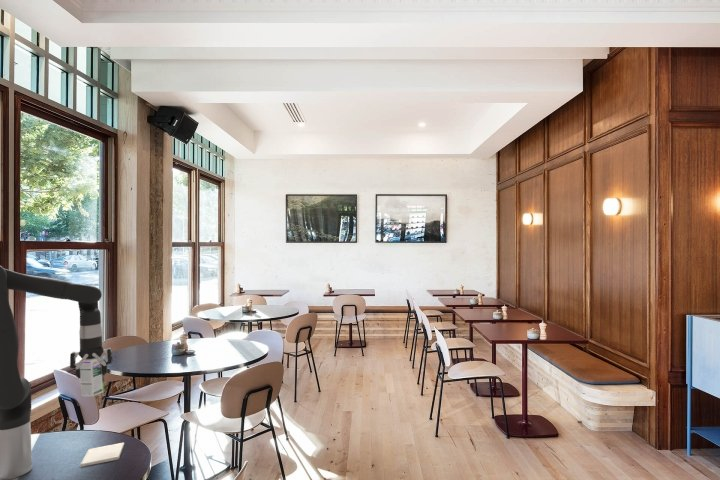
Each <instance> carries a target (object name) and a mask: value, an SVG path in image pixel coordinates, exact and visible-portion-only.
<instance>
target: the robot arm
mask: <svg viewBox="0 0 720 480" xmlns="http://www.w3.org/2000/svg"><path fill="white" fill-rule="evenodd" d="M8 290H11V291H12V290H13V291H19V292H24V293H29V294H33V295H37V296H38V295H39V296H43V297H48V298H53V299H58V300H69V301H73V302H77V305H78V310H79V331H78V333H79V334H78V335H79V351H72V352H70V356H69V357H70V359H69V360H70V361H69V368H70V369H74V370H75V373H76V374H75V376H76V378H77V379H78V380H79V379H80V366H81V365H82V364H83V361H84V360H86V359H92V358H96V359H97V360H98V361H99V362H100V363H101V364H102V365H103V366H102V370H103V375H104V376H106V374H107V373H108V365H111V364H112V362H113V361H114V360H113V349H112V347H108V348H103V327H102V319H101V317H102V316H101V315H102V314H101V311H100V309H99V301H100V300H101V298H102V291H101V289H100V288H98V287H96V286H93V285H87V284H80V283H75V282H72V281H67V280H63V279H59V278H53V277H52V278H51V277H44V276H37V275H30V274H26V273H25V274H24V273H20V272H16V271H13V270H10V269H7V268H4V267H3V266H2V265H0V480H11V479H15V478H19V477H21V476H23V475H25V474H27V473H29V472H30V471H31V470H32V469H33V458H32V454H33V453H32V452H33V451H32V435H31V434H32V428H31V412H32V386H31V383H30V382H29V380H28V379H27V378H24V377H22V376H20V375H21V374H20V371H19V366H18V365H19V364H18V362H19V361H18V360H19V347H20V346H19V345H20V343H19V335H18V329H17V323H16V321H15V318H14V314H13V311H12V308H11V305H10V302H9V296H8ZM103 353H105V355H107V360H106V359H105V357H104V356H103ZM78 356H79V357H80V358H81V359H80V360H81V361H80V360H79V362H78V363H77V364H76V359H77V358H78ZM100 356H102V357H103V358H102V359H101V358H100Z"/></svg>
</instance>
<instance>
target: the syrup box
mask: <svg viewBox="0 0 720 480" xmlns="http://www.w3.org/2000/svg"><path fill="white" fill-rule="evenodd" d="M102 356H103V355H102ZM102 356H100V358H101V359H102V358H103V357H104V356H103V357H102ZM80 361H81V359H80V360H79V362H80ZM102 366H103V365H102V364H101V363H100V362H99V361H98V360H97V359H96V358H92V359H86V360H84V361H83V364H82V365H81V366H80V378H79V379H80V393H81V394H80V395H81V397H86V398H87V397H88V398H90V397H91V398H93V397H95V396H97V395H100V394H102V393H105V375H103V370H102Z"/></svg>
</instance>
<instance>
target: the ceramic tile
mask: <svg viewBox="0 0 720 480" xmlns="http://www.w3.org/2000/svg"><path fill="white" fill-rule="evenodd" d="M124 447H125V442H119V443H114V444H108V445H104V446H103V445H102V446H98V447H91V448H88V450H87V452H86V454H85V456H84V457H83V459H82V460H81V462H80V468H81V467H87V466H92V465H98V464H101V463H106V462H107V463H108V462H112V461H118V460H120V458H121V455H122V452H123V450H124Z"/></svg>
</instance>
